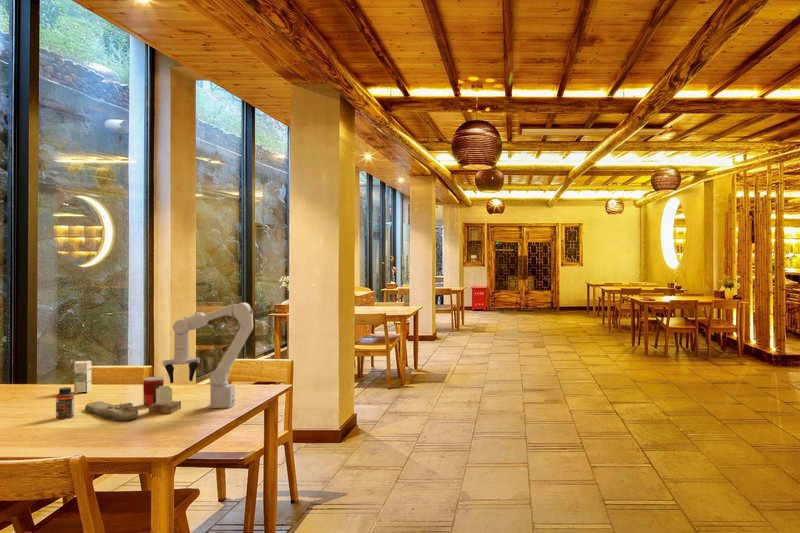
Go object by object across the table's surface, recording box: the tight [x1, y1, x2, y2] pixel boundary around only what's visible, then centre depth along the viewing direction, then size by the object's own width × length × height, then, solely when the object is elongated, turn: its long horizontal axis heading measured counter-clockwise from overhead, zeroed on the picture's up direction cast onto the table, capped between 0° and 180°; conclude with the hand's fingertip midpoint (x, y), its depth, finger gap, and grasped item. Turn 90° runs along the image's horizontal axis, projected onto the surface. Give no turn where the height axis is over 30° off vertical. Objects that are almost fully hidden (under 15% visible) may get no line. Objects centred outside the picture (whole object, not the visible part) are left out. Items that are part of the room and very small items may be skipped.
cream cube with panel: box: [156, 385, 173, 405], centre depth 236 cm, size 5×5×7 cm
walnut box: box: [148, 400, 182, 415], centre depth 236 cm, size 9×9×4 cm
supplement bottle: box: [55, 386, 75, 420], centre depth 225 cm, size 6×6×11 cm
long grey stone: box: [84, 400, 139, 421], centre depth 231 cm, size 35×5×10 cm
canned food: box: [142, 376, 165, 407], centre depth 248 cm, size 8×8×11 cm
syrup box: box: [73, 360, 92, 393], centre depth 275 cm, size 6×6×14 cm
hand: (181, 381), depth 243 cm, fingers open, 7 cm apart
